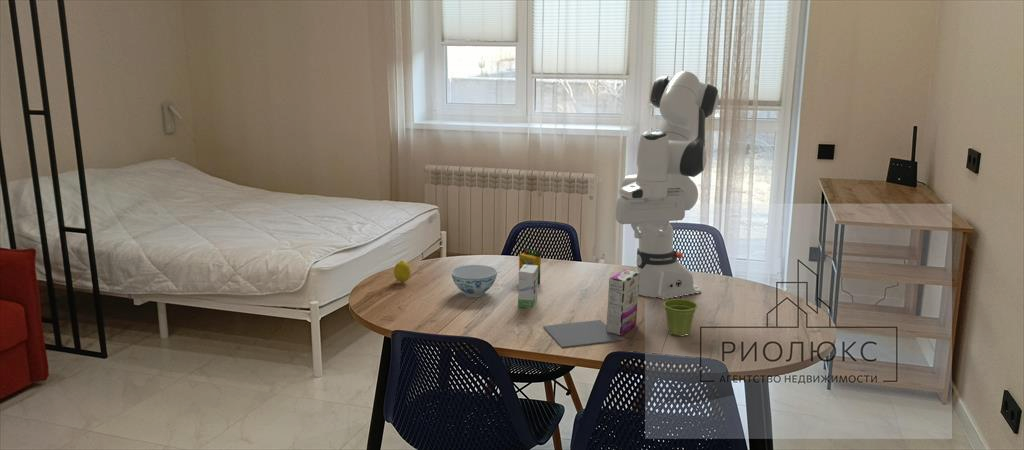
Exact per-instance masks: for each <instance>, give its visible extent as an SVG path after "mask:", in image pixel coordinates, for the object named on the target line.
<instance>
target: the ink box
mask: <svg viewBox="0 0 1024 450" xmlns="http://www.w3.org/2000/svg"><path fill="white" fill-rule="evenodd" d="M538 285H539V284H538V266H537V265H527V264H524V265H523V266H522V267H521V269H520V270H519V269H518V291H517V292H518V293H517V307H518V308H527V309H528V308H529V309H533V308H534V305H535V304H536V302H537V300H538V288H539V286H538Z"/></svg>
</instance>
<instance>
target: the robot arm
mask: <svg viewBox="0 0 1024 450" xmlns="http://www.w3.org/2000/svg"><path fill="white" fill-rule="evenodd" d="M719 97H720V95H719V90H718V88H717V87H716V86H714V85H712V84H709V83H704V82H700V79H699V78H698V76H697V75H695V74H694V73H693V72H690V71H686V70H685V71H679V72H677V73H675V74H673V76H672V77H670V76H669V75H661V76H659V77H657V78H655V79H654V81H653V83H652V84H651V86H650V91H649V98H650V102H651V104H652V106H654V107H656V108H659V112H660V115H661V117H662V118H663V120H662V122H661V124H660V127H659V129H651V130H646V131H644V132H642V133H641V134H640V137H639V141H638V148H637V154H636V155H637V157H636V165H637V173H635V174H634V173H633V174H627V175H626V176H625V177H624V178H623V179H622V181H621V183H620V185H619V189H618V190H619V191H618V193H619V195H620V196H619V198H618V199H617V202H616V206H615V220H616V221H617V223H618V224H621V225H631V228H632V230H633V231H634V236H633V237H634V238H635V239H638V247H637V250H636V271H637V272H640V274H639V288H638V295H640V296H644V297H648V296H651V297H650V298H656V297H659V298H658V299H660V298H664V299H663V300H669V299H668V298H671V299H673V298H672V297H675V296H680V295H685V294H692V293H696V292H700V293H701V288H700V286H698V285H697V284H696V283H694V277H693V273H692V271H691V270H689V269H688V268H687V267H685V266H684V264H682V263H681V262H679V261H678V259H679V260H681V259H683V257H684V254H683V253H682V252H680V251H676V250H675V249H673V245H674V228H673V226H672V224H671V223H670V222H675V221H683V219H684V218H685V217H686V216H685V215H686V212H687V211H690V210H692V209H693V207H695V205H696V204H697V202H698V199H699V198H698V197H699V190H698V187H697V185H696V183H695V182H694V181H693V180H692V179H691V178H694V177H697V176H698V175H700V174H701V173H702V172H703V171H704V170H705V167H706V166H707V165H706V164H707V150H706V146H705V145H706V119H707V118H709V117H710V116H712V115H713V113H714V112H715V111H716V109H717V107H718V105H719V100H720V98H719ZM692 295H693V294H692Z"/></svg>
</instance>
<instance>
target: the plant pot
mask: <svg viewBox="0 0 1024 450" xmlns="http://www.w3.org/2000/svg"><path fill="white" fill-rule="evenodd" d="M663 306H664V308H665V311H666V312H665V313H666V321H667V330H668V331H669V332H670V333H672V334H675V335H674V336H678V335H685V334H689V333H691V329H692V324H693V319H694V314H695V313H696V309H698V304H697V303H696V302H695V301H692V300H689V299H684V298H683V299H682V298H671V299H666V300H665V301H664V302H663ZM669 332H668V333H669ZM670 333H669V334H670ZM689 335H690V334H689Z"/></svg>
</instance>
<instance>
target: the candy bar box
mask: <svg viewBox="0 0 1024 450" xmlns="http://www.w3.org/2000/svg"><path fill="white" fill-rule="evenodd" d="M639 274H640V272H637V270H630V269H623V270H622V271H619V272H618V273H616V274H614V275H613V276H611V277H609V280H608V281H609V282H608V296H607V297H608V299H607V300H608V301H607V314H606V325H607V328H606V332H608V333H612V334H617V335H618V336H622V335H624V334H625V333H627V332H628V331H629V330H631V329H632V328H633V327H635V326H636V325H637V316H638V315H637V314H638V302H639V301H638V300H639V294H638V288H639Z"/></svg>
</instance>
